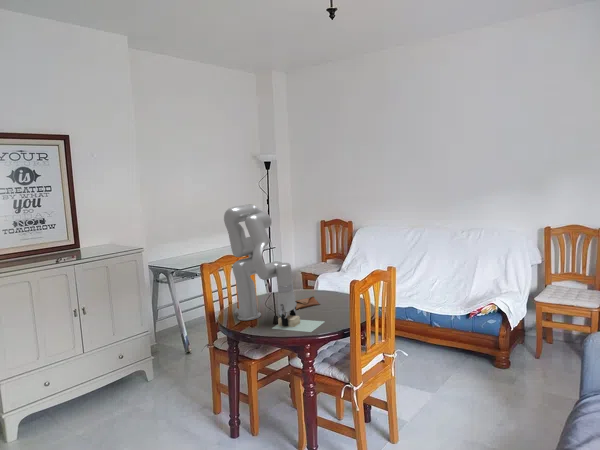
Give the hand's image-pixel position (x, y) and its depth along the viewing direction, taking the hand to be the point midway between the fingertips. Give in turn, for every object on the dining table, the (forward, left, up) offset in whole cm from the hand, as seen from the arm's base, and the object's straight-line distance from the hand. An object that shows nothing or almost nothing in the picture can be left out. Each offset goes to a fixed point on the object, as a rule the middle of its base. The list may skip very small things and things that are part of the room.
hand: (289, 322), depth 228 cm
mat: (+5, 0, -1) cm, 5 cm away
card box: (0, 0, -1) cm, 1 cm away
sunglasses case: (-8, +30, -2) cm, 31 cm away
